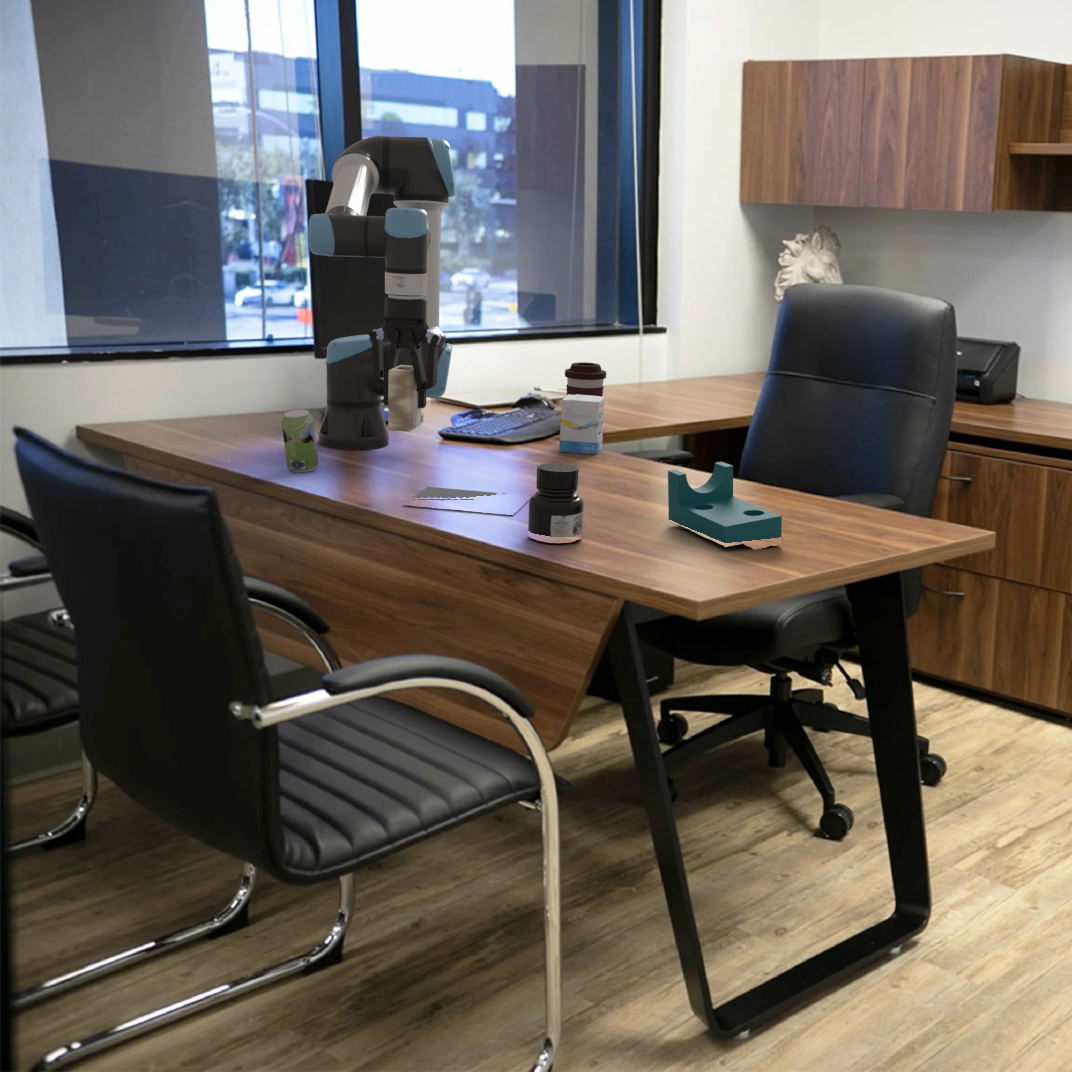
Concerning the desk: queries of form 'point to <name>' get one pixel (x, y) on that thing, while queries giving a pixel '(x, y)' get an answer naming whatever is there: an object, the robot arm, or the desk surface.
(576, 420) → the ink box
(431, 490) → the felt pad
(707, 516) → the teal l-shaped bracket
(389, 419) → the birch block
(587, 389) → the coffee cup
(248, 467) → the desk surface
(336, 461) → the desk surface
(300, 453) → the beverage can
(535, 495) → the ink bottle
